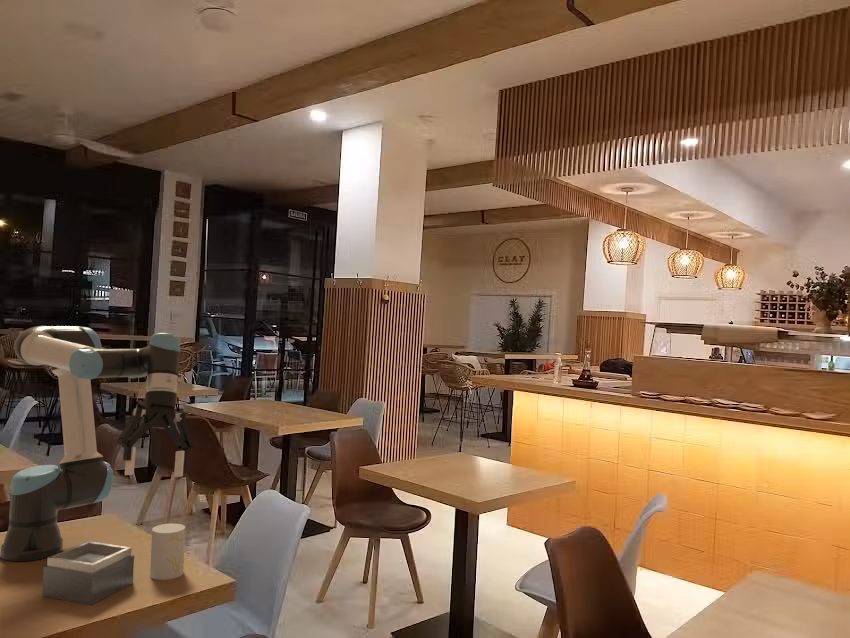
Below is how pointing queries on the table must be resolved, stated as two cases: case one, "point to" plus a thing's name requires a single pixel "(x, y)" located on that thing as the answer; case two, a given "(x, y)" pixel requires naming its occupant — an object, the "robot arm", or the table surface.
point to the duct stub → (88, 572)
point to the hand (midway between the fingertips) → (154, 475)
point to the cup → (167, 551)
